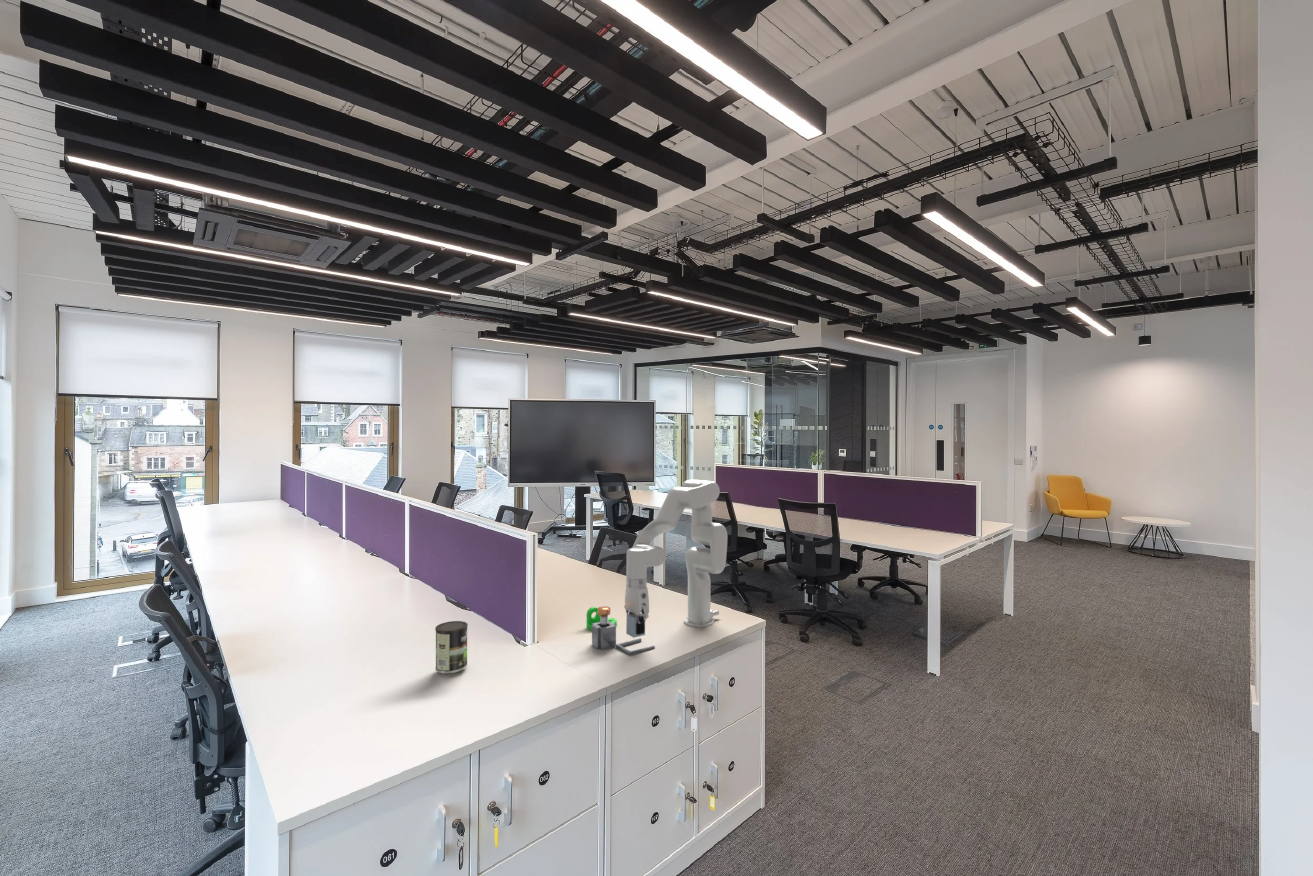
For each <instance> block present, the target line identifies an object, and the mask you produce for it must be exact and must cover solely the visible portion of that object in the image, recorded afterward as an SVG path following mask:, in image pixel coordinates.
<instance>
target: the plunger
mask: <svg viewBox="0 0 1313 876" xmlns="http://www.w3.org/2000/svg"><path fill="white" fill-rule="evenodd" d="M597 608H598V615H600V627H606V626H608V619H609V618H608V616H610V615H611V607H610V606H599V607H597Z"/></svg>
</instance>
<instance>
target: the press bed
mask: <svg viewBox="0 0 1313 876" xmlns="http://www.w3.org/2000/svg"><path fill="white" fill-rule="evenodd" d="M641 642H642V638H639V637H638V638H634V639H632V640H629V641H625V642H620V643H616V646H615V647H612V648H611V649H613V650H616V649H618V650H619V651H621V652H623V653H625V654H626V655H628V656H629V657H630V656H631V657H632V656H633V655H638V654H640V653H644V652H647V651H650V650H653V649H654V650H655V648H656V646H655V645H651V646H646V647H643V648H638V649H636V650H632V651H631V650H628V649H627V648H626V647H627V646H628V647H629V646H631V645H635V644H638V643H641Z"/></svg>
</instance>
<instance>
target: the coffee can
mask: <svg viewBox="0 0 1313 876" xmlns="http://www.w3.org/2000/svg"><path fill="white" fill-rule="evenodd" d="M468 626H469V624H468V622H466V621H462V620H453V621H452V620H451V621H445V622H442V623H439V624H437V625H436V626H434V627H435V629H434V630H435V668H434V669H435V671H436V672H437V673H439V674H453V673H458V672H460V671H463V670H465V669H466V668H467V667H468Z"/></svg>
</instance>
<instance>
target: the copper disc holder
mask: <svg viewBox="0 0 1313 876" xmlns="http://www.w3.org/2000/svg"><path fill="white" fill-rule="evenodd" d="M616 644H617V626H615V624H614V623H612V622H608V626H606V627H600V622H597V623H592V631H591V646H592V647H593V648H595V649H596V650H601V651H605V650H608V649H613V648H612V647H616Z"/></svg>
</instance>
